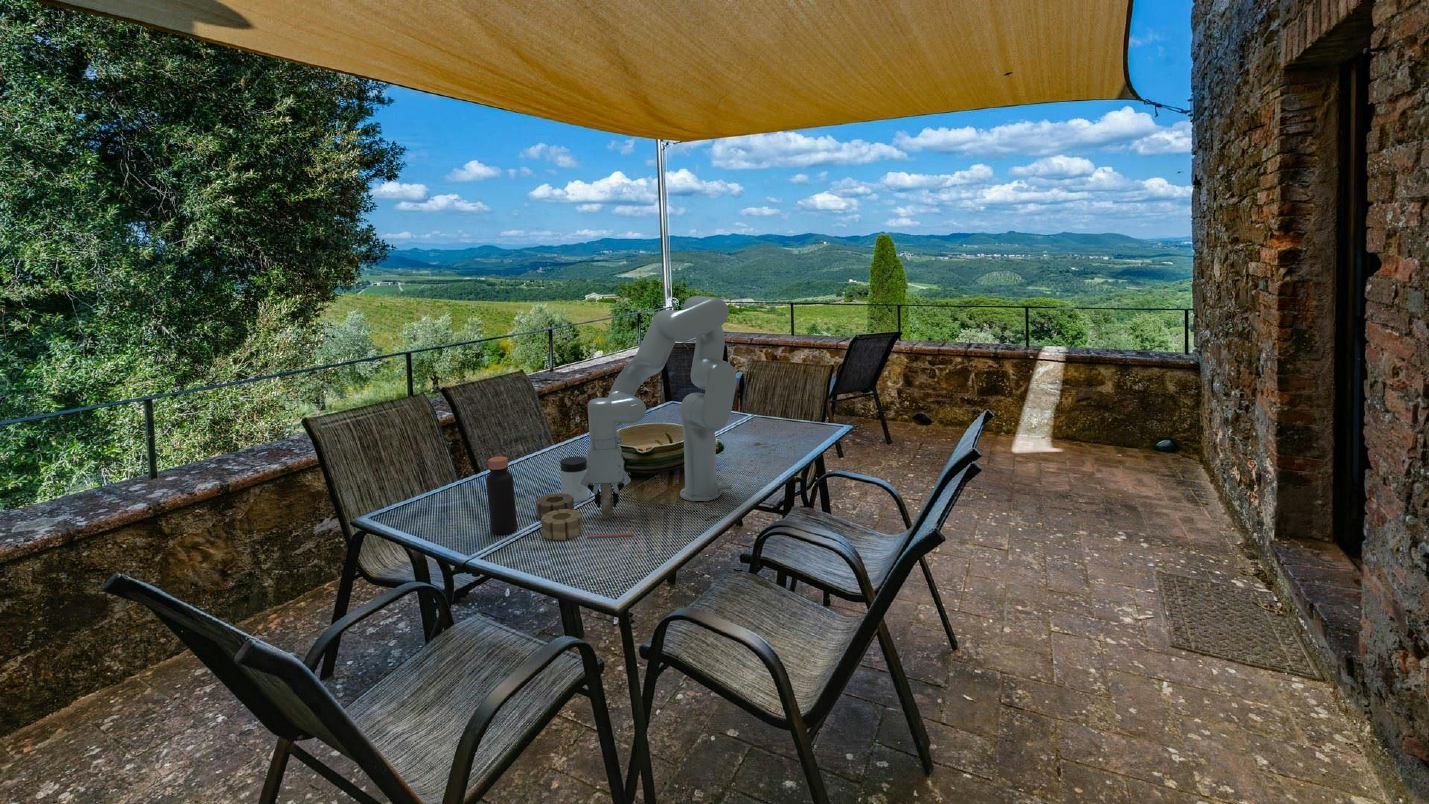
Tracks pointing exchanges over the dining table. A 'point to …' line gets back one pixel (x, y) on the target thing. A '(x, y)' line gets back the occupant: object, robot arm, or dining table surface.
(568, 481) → the jar
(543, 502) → the bead
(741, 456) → the dining table surface
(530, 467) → the dining table surface
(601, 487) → the dowel
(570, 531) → the bead
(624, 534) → the reddish brown square stick
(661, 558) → the dining table surface
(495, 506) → the bottle
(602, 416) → the robot arm
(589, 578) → the dining table surface
